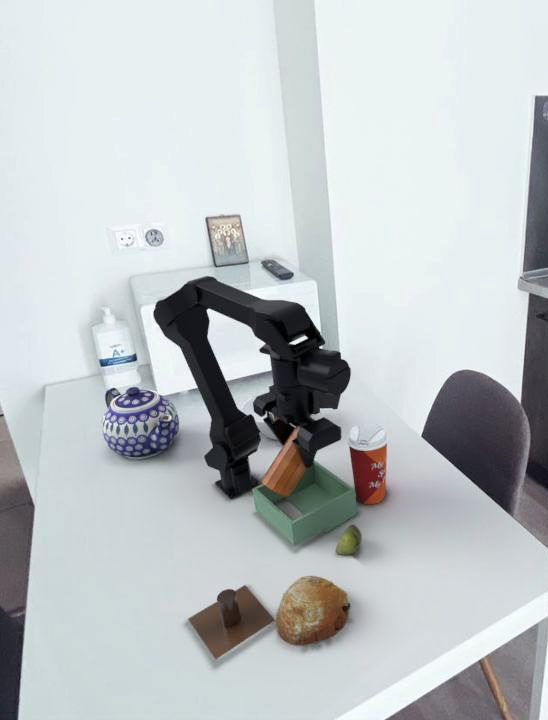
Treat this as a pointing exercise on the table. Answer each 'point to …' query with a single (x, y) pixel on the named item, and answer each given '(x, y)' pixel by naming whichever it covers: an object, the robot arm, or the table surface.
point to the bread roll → (311, 611)
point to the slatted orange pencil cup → (285, 468)
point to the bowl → (257, 417)
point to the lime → (349, 541)
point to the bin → (309, 504)
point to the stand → (230, 620)
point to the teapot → (139, 422)
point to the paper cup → (368, 461)
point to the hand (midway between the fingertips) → (300, 460)
